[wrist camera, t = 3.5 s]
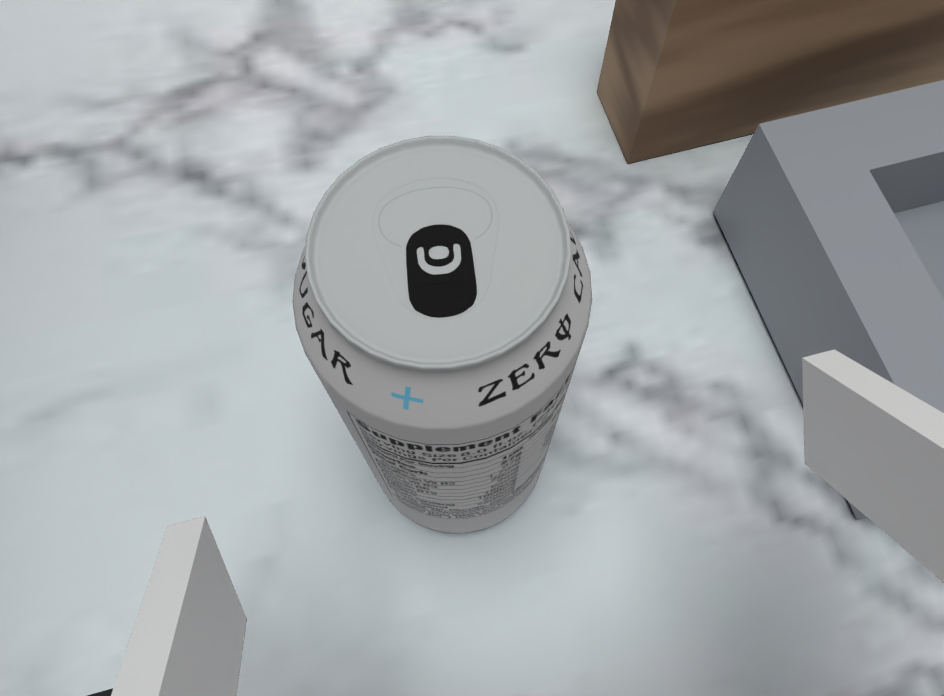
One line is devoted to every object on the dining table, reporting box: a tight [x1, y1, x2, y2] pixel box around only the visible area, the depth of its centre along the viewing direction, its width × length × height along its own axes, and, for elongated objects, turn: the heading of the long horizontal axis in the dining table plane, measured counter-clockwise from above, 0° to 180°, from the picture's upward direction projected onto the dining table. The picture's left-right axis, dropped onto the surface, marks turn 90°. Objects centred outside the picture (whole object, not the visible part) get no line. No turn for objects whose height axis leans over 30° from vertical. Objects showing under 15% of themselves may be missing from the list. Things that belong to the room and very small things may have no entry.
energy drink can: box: [293, 136, 592, 533], centre depth 21 cm, size 6×6×15 cm
